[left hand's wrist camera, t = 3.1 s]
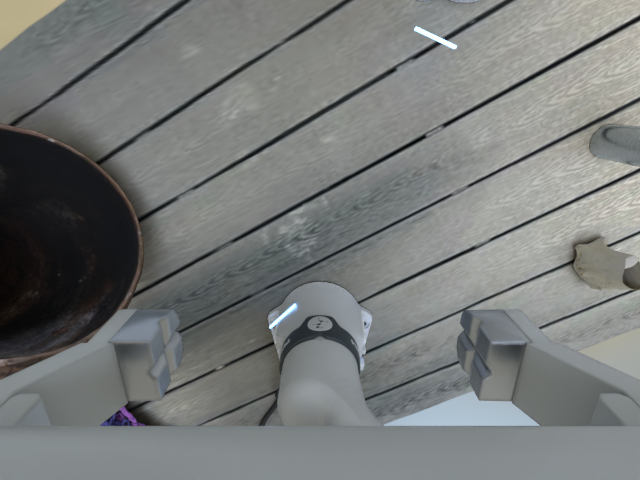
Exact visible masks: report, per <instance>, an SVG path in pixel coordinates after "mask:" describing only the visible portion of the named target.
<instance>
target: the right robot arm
mask: <svg viewBox="0 0 640 480" xmlns="http://www.w3.org/2000/svg"><path fill="white" fill-rule="evenodd" d="M418 1H429V0H418ZM450 1H454V2H460V3H470V2H476V1H480V0H450ZM414 30H415V31H417V32H419V33H421V34H423V35H425V36H428V37H430V38H432V39H434V40H436V41H438V42H440V43H442V44H444V45H447V46H449V47H451V48H453V49H456V47H457V46H456V45H454V44H452V43H450V42H448V41H446V40H444V39H442V38H440V37H437V36H435V35H433V34H431V33H429V32H427V31H425V30H423V29H421V28H419V27H415V29H414Z"/></svg>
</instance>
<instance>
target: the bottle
mask: <svg viewBox="0 0 640 480" xmlns="http://www.w3.org/2000/svg"><path fill="white" fill-rule="evenodd" d="M590 151H591V153H592V154H593V155H594V156H595V157H597V158H601V159H606V160H610V161H615V162H620V163H624V164H629V165H634V166H638V167H640V127H638V126H627V125H615V124H609V125H605V126H603V127H601V128H600V129H598V130H597V131H596V132H595V133H594V135H593V136H592V138H591V141H590Z"/></svg>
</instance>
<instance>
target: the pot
mask: <svg viewBox="0 0 640 480" xmlns="http://www.w3.org/2000/svg"><path fill="white" fill-rule="evenodd" d="M143 259H144V249H143V237H142V232H141V228H140V224H139V221H138V218H137V215H136V212H135V210H134V208H133V206H132V204H131V202H130V201H129V200H128V198H127V197H126V195H125V194H124V192H123V191H122V189H121V188H120V187H119V185H118V184H117V183H116V182H115V181H114V180H113V179H112V178H111V177H110V176H109V175H108V174H107V173H106V172H105V171H104V170H103V169H102V168H101V167H100V166H99V165H97V164H96V163H95V162H93V161H92V160H91V159H90V158H88V157H87V156H85V155H84V154H82V153H80V152H78V151H77V150H75V149H73V148H72V147H70V146H68V145H66V144H64V143H62V142H60V141H58V140H56V139H54V138H52V137H49V136H46V135H44V134H41V133H38V132H36V131H32V130H28V129H23V128H18V127H13V126H9V125H5V124H2V123H0V380H1V379H3V378H6V377H8V376H10V375H12V374H14V373H17V372H19V371H21V370H23V369H25V368H28V367H30V366H32V365H34V364H36V363H38V362H41V361H43V360H45V359H47V358H49V357H52V356H54V355H56V354H58V353H60V352H62V351H65V350H67V349H69V348H71V347H73V346H76V345H78V344H80V343H88V341H89V340H90V339H91V338H92V337H93V336H94V335H95V334H96V333H97V332H98V331H99V330H100V329H101V328H102V327H103V326H104V325H105V324H106V323H107V322H108V321H109V320H110V319H111V318H112V317H113V316H114V315H115V313H116V312H117V311H118V310H122V309H127V307H128V305H129V303H130V301H131V299H132V297H133V294H134V292H135V289H136V287H137V284H138V282H139V279H140V276H141V273H142V268H143Z"/></svg>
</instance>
